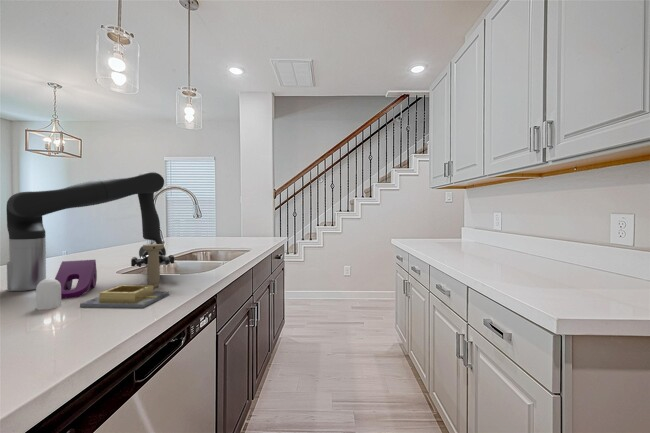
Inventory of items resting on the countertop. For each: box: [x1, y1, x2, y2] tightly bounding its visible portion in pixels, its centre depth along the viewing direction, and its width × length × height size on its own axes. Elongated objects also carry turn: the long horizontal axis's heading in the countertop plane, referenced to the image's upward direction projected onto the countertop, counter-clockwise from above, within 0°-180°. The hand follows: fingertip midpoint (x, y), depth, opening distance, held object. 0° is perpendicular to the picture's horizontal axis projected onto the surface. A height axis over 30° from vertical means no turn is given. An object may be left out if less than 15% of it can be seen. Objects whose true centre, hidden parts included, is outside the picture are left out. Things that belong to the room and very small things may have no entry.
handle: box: [142, 243, 165, 289], centre depth 113 cm, size 5×6×15 cm
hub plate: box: [79, 284, 170, 309], centre depth 96 cm, size 18×14×4 cm
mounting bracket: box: [54, 259, 98, 300], centre depth 106 cm, size 10×8×18 cm
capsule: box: [35, 278, 62, 311], centre depth 90 cm, size 5×5×8 cm
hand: (153, 263), depth 115 cm, fingers open, 8 cm apart
